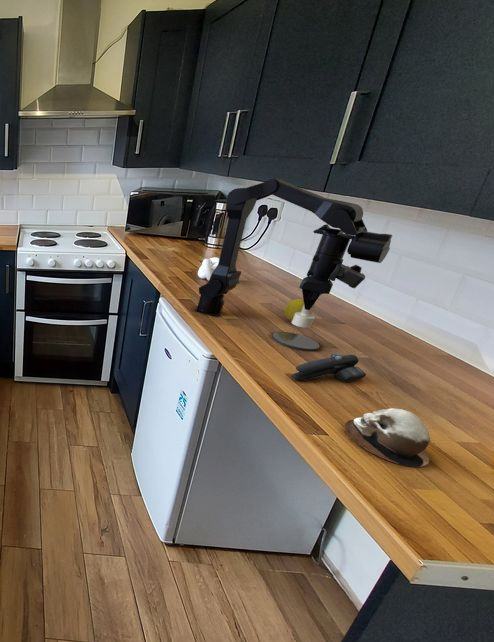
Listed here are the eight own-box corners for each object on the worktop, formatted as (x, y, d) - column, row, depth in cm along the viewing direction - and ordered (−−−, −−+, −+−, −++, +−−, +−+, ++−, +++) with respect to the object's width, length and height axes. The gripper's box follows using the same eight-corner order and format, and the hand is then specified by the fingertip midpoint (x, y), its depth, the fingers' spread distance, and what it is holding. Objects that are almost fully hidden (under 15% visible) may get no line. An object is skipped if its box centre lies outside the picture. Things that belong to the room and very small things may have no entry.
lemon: (295, 319, 131) (304, 296, 127) (306, 326, 126) (315, 302, 122) (277, 317, 131) (285, 295, 128) (287, 324, 126) (296, 301, 123)
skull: (324, 418, 80) (371, 385, 78) (347, 446, 83) (393, 415, 81) (382, 460, 69) (440, 424, 67) (406, 490, 72) (462, 456, 70)
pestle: (290, 324, 113) (305, 286, 108) (292, 320, 116) (307, 282, 111) (310, 329, 110) (326, 290, 105) (312, 325, 113) (328, 286, 108)
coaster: (268, 341, 115) (269, 339, 114) (275, 330, 122) (276, 328, 122) (316, 354, 108) (317, 353, 108) (320, 342, 115) (321, 340, 115)
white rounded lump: (225, 278, 169) (231, 257, 165) (230, 286, 159) (236, 265, 155) (196, 274, 172) (201, 254, 169) (198, 282, 162) (204, 261, 159)
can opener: (339, 367, 102) (348, 348, 100) (367, 382, 96) (377, 362, 93) (279, 371, 99) (287, 351, 97) (304, 387, 93) (313, 366, 90)
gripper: (369, 266, 93) (342, 327, 99) (371, 253, 106) (347, 308, 112) (310, 257, 100) (288, 314, 106) (318, 245, 113) (298, 297, 119)
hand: (307, 308), depth 111 cm, fingers closed on pestle, 2 cm apart
